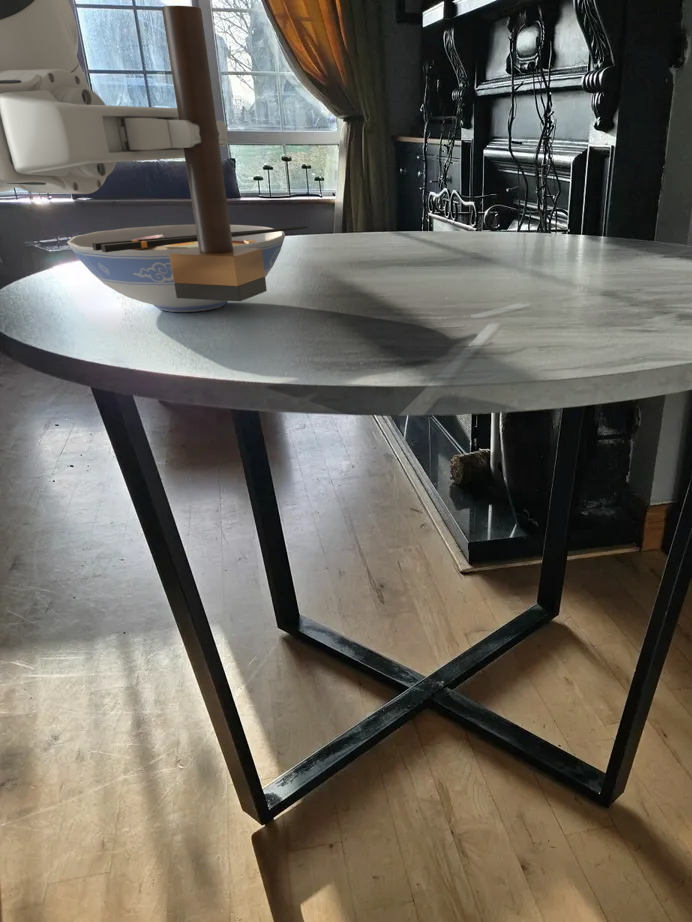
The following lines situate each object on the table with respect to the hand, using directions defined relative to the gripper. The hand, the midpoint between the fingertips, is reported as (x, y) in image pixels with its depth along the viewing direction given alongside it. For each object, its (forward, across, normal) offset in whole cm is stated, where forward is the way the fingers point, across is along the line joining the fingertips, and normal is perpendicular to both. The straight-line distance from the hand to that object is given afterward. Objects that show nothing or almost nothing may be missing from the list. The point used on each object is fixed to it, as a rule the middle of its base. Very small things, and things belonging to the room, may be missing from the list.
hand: (209, 133), depth 61 cm
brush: (-1, 0, -12) cm, 12 cm away
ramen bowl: (-16, -18, -17) cm, 30 cm away
